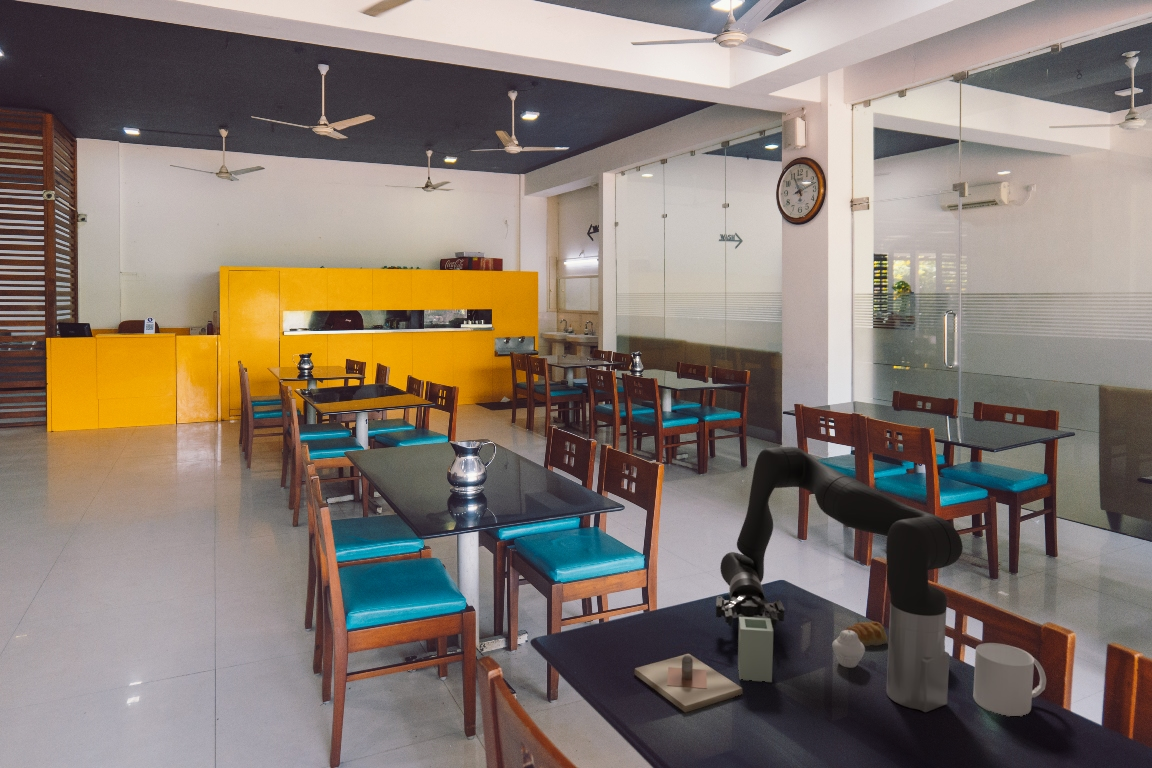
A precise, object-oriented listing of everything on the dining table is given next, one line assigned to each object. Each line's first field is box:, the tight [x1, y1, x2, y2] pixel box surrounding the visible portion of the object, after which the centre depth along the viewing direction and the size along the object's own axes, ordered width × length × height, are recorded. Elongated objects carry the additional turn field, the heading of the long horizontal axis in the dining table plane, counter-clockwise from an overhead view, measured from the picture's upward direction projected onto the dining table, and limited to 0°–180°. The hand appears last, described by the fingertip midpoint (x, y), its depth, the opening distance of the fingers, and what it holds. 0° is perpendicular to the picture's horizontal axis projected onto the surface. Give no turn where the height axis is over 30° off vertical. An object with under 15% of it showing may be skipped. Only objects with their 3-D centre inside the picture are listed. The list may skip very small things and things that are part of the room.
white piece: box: [831, 629, 866, 669], centre depth 151 cm, size 6×6×7 cm
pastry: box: [842, 620, 889, 647], centre depth 162 cm, size 9×7×4 cm
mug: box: [972, 642, 1047, 717], centre depth 135 cm, size 12×9×9 cm
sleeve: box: [737, 616, 774, 683], centre depth 147 cm, size 6×6×10 cm
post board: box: [634, 653, 743, 713], centre depth 143 cm, size 16×13×6 cm
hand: (751, 622), depth 157 cm, fingers open, 8 cm apart
